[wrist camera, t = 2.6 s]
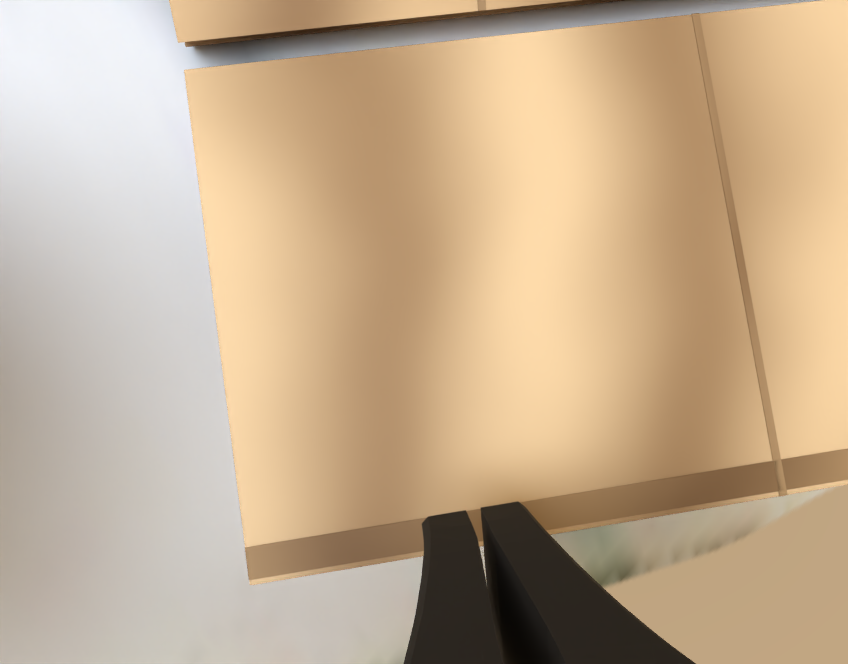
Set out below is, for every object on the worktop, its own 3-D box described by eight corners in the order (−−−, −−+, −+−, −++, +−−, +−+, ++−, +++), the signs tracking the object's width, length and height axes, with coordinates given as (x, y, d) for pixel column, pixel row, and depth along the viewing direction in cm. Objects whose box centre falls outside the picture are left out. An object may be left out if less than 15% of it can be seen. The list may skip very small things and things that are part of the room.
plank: (259, 570, 15) (249, 585, 14) (198, 95, 16) (183, 69, 14) (1070, 434, 16) (1126, 438, 15) (979, 7, 17) (1026, -23, 16)
